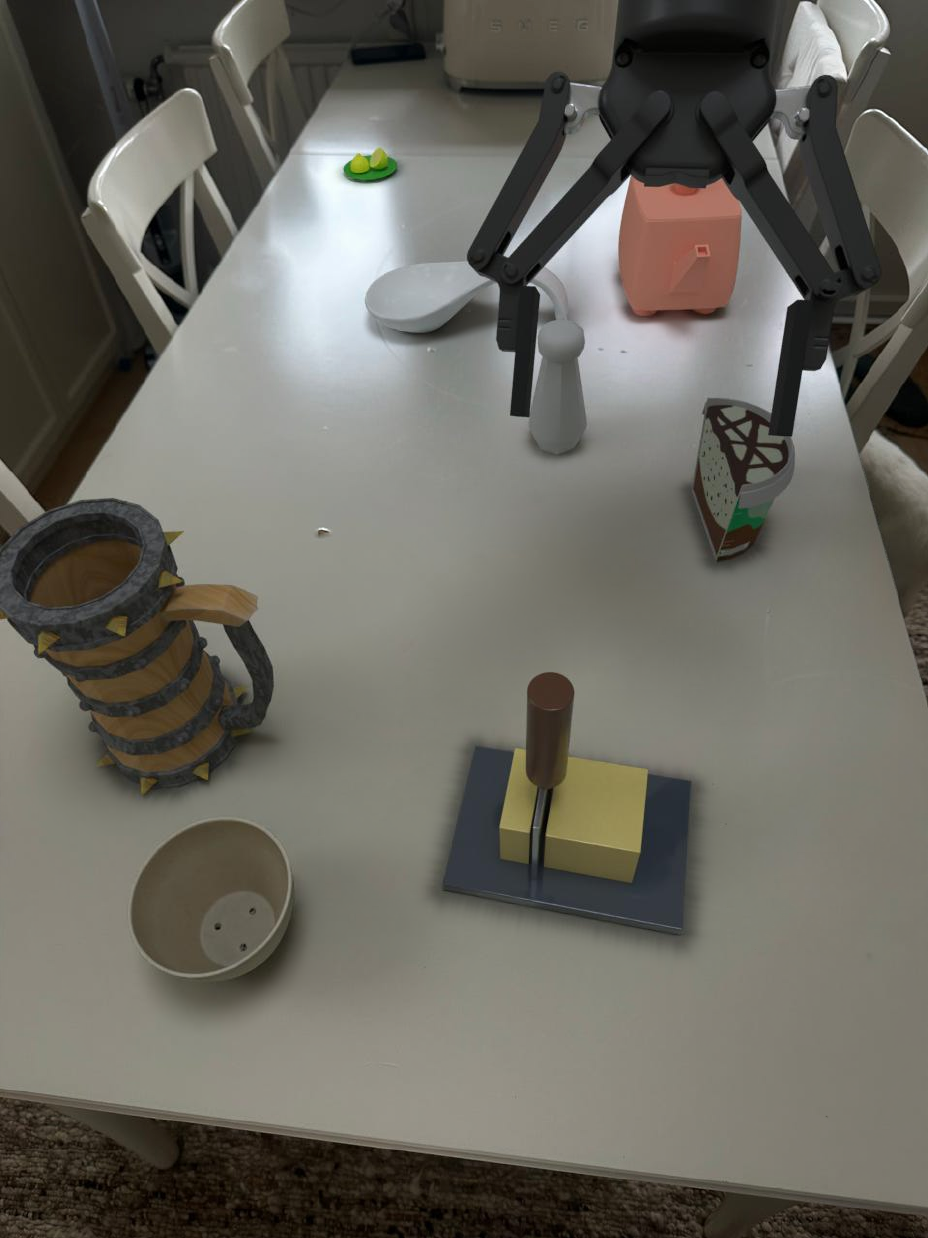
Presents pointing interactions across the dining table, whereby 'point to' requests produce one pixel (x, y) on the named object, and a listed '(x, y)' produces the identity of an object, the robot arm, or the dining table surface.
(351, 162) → the lemon
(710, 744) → the dining table surface
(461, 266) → the spoon rest
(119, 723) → the mug
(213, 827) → the flower pot
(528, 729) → the knife
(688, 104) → the robot arm
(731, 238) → the teapot
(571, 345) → the salt shaker
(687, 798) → the butter dish
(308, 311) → the dining table surface
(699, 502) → the food container
